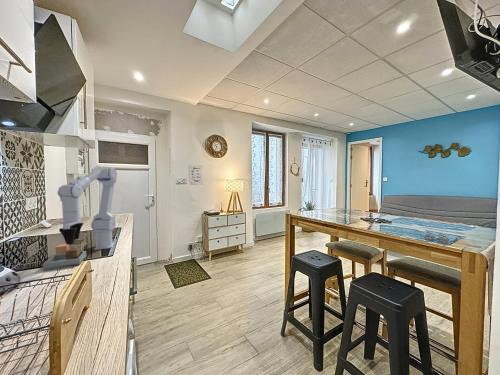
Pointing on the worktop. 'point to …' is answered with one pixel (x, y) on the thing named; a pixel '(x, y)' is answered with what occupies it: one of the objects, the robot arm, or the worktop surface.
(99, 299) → the worktop surface
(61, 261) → the slate tray
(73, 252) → the walnut block
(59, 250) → the terracotta block
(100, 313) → the worktop surface
